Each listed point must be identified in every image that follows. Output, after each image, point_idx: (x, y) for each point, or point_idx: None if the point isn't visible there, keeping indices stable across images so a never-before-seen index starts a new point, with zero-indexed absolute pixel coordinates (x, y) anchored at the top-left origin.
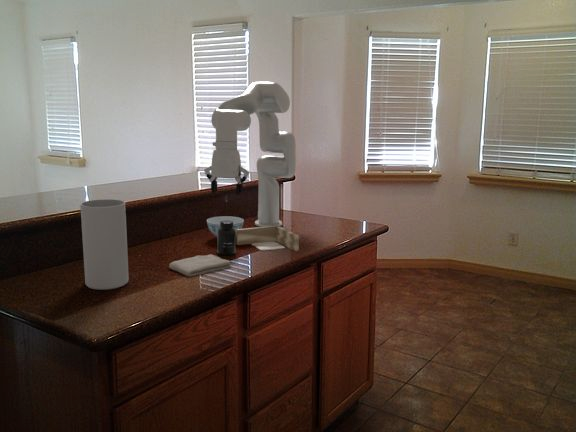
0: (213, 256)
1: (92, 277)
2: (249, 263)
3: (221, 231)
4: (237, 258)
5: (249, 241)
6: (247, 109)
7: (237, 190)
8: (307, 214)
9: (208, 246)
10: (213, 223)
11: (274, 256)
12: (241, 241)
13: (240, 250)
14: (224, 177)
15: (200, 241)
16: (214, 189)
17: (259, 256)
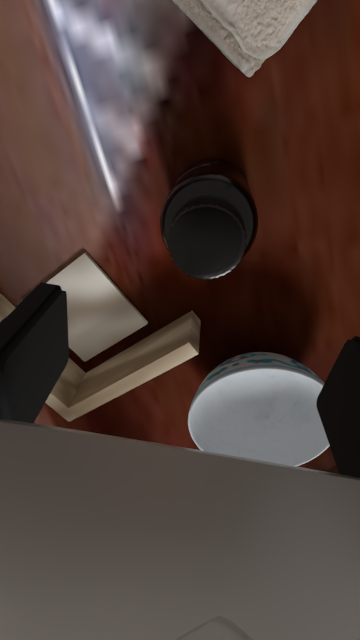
0: (239, 21)
1: None
2: (67, 49)
3: (227, 183)
4: (143, 123)
5: (156, 335)
6: None
7: (26, 304)
8: None
9: (300, 274)
10: (304, 375)
11: (14, 191)
12: (180, 322)
13: (165, 246)
14: (189, 450)
15: (340, 331)
16: (353, 376)
17: (68, 178)
